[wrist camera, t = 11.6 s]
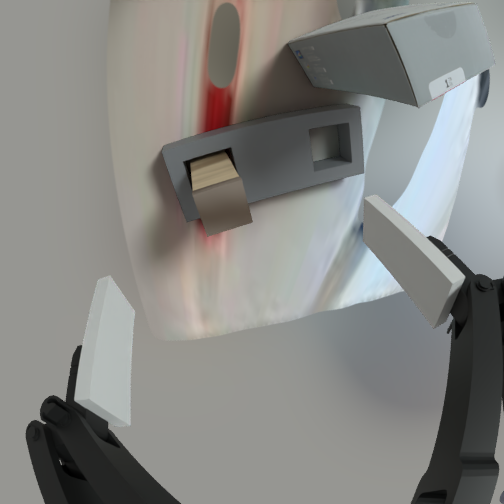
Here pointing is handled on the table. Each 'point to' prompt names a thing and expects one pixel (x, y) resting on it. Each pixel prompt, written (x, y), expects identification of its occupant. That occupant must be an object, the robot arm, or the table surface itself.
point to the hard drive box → (398, 51)
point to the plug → (218, 193)
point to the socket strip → (272, 153)
